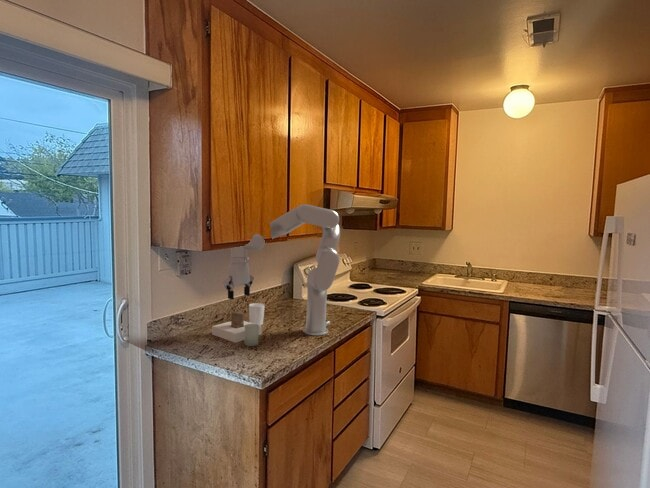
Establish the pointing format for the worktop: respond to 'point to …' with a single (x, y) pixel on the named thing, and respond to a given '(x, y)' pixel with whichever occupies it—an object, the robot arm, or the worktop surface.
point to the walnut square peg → (237, 319)
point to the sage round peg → (251, 334)
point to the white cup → (256, 313)
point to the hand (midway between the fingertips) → (239, 297)
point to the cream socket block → (231, 331)
